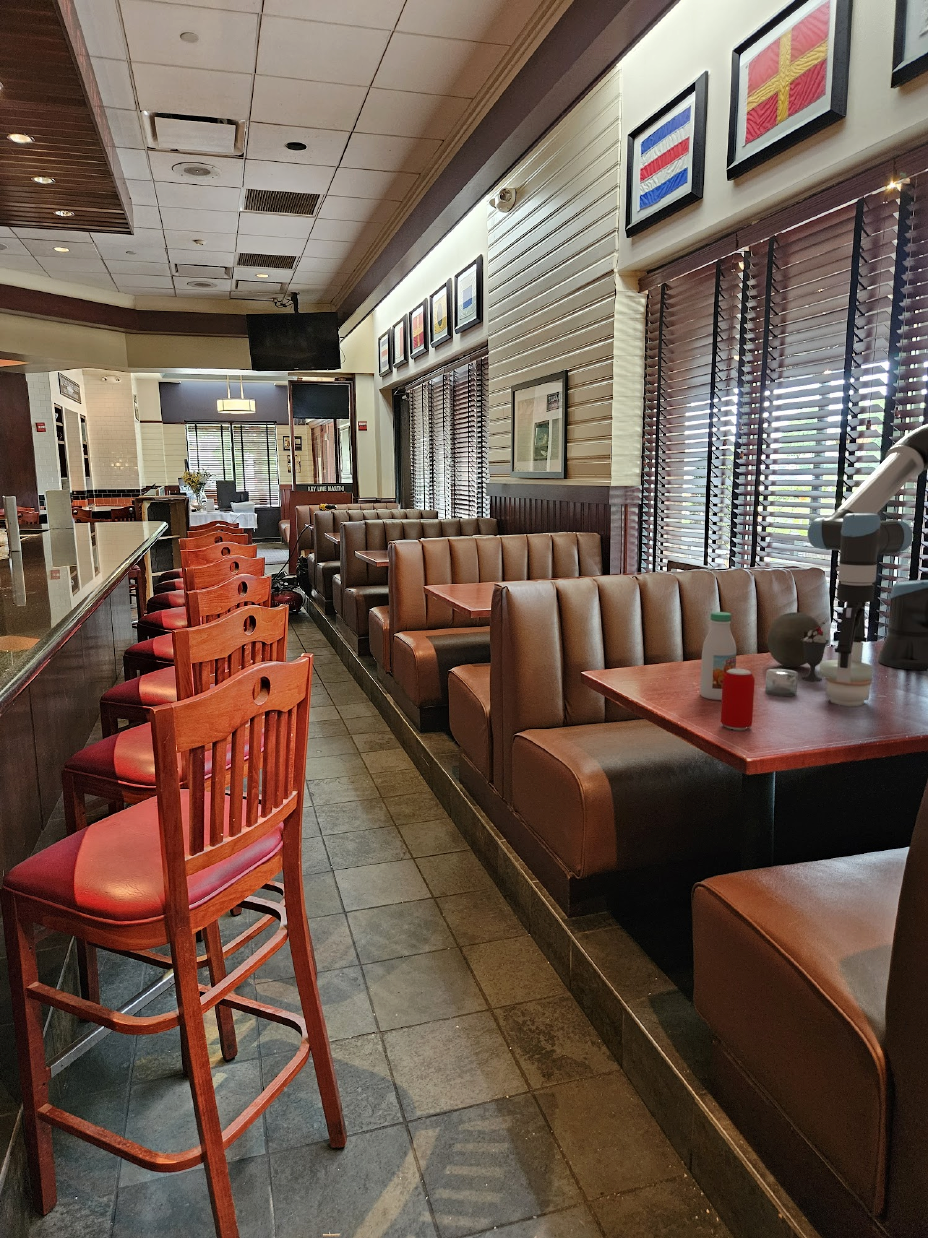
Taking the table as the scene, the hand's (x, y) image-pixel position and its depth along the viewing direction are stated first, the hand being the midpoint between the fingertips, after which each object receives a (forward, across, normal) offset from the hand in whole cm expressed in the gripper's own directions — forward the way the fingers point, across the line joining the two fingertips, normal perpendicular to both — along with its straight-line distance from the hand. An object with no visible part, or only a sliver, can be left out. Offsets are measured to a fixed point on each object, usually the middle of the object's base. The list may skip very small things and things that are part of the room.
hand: (848, 675), depth 183 cm
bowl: (+6, 0, 0) cm, 6 cm away
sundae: (+7, -18, -11) cm, 22 cm away
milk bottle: (+6, +12, -26) cm, 29 cm away
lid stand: (+6, 0, -14) cm, 16 cm away
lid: (0, -1, -1) cm, 1 cm away
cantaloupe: (+7, -28, -18) cm, 34 cm away
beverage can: (+6, +33, -15) cm, 37 cm away
